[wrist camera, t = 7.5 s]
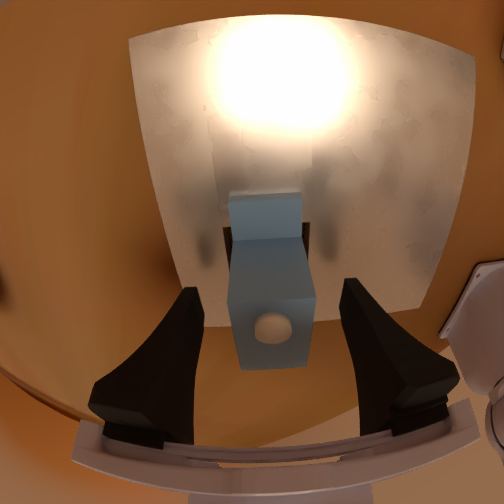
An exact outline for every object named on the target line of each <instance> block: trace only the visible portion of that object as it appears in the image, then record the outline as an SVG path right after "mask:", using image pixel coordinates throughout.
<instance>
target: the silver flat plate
mask: <svg viewBox="0 0 504 504" xmlns="http://www.w3.org/2000/svg"><path fill="white" fill-rule="evenodd" d="M128 40H129V50H130V59H131V67H132V75H133V82H134V89H135V96H136V102H137V108H138V114H139V120H140V125H141V130H142V136H143V141H144V146H145V151H146V155H147V160H148V165H149V169H150V173H151V178H152V182H153V186H154V190H155V194H156V198H157V202H158V206H159V210H160V214H161V218H162V222H163V225H164V229H165V232H166V236H167V240H168V243H169V246H170V250H171V253H172V257H173V260H174V263H175V266H176V270H177V273H178V276H179V279H180V282H181V285H182V288H183V289H184V287H197V289H198V293H199V296H200V299H201V303H202V306H203V310H204V313H205V318H204V327H223V326H231V321H230V316H229V311H228V306H227V295H228V285H229V274H230V264H231V251H230V244H229V237H228V230H227V227H231V224H230V216H229V209H228V198H229V197H230V196H243V195H258V194H274V193H295V192H300V193H301V195H302V222H305V231H304V248H305V252H306V256H307V260H308V264H309V268H310V272H311V276H312V280H313V284H314V289H315V293H316V297H317V298H316V306H315V314H314V321H325V320H335V319H341V317H340V311H339V303H340V298H341V293H342V288H343V283H344V278H355V277H356V278H357V279H358V280H359V281H360V282H361V284H362V285H363V286H364V287H365V288H366V290H367V291H368V292H369V293H370V294H371V296H372V297H373V298H374V299H375V300H376V301H377V303H378V304H379V305H380V306H381V307H382V308H383V309H384V310H385V311H386V312H387V313H391V312H397V311H404V310H410V309H416V308H420V306H421V303H422V301H423V299H424V297H425V295H426V292H427V290H428V288H429V286H430V283H431V281H432V279H433V276H434V274H435V271H436V269H437V266H438V263H439V261H440V258H441V256H442V253H443V250H444V247H445V244H446V241H447V238H448V235H449V232H450V229H451V226H452V223H453V219H454V216H455V213H456V209H457V205H458V202H459V198H460V194H461V189H462V185H463V181H464V176H465V171H466V166H467V161H468V155H469V149H470V143H471V135H472V127H473V117H474V105H475V80H476V69H475V57H474V56H472V55H469V54H467V53H465V52H463V51H460V50H458V49H455V48H453V47H451V46H448V45H445V44H443V43H440V42H437V41H434V40H432V39H429V38H426V37H422V36H419V35H416V34H413V33H409V32H406V31H402V30H398V29H394V28H390V27H386V26H381V25H376V24H371V23H366V22H360V21H354V20H348V19H340V18H331V17H321V16H306V15H256V16H241V17H230V18H221V19H214V20H207V21H200V22H195V23H189V24H184V25H179V26H175V27H170V28H166V29H162V30H158V31H154V32H151V33H147V34H144V35H140V36H137V37H134V38H131V39H128ZM314 321H313V322H314Z"/></svg>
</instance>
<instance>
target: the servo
mask: <svg viewBox="0 0 504 504" xmlns="http://www.w3.org/2000/svg"><path fill="white" fill-rule="evenodd" d="M228 209H229V216H230V224H231V231H232V238H233V245H232V254H231V264H230V274H229V285H228V295H227V306H228V311H229V316H230V321H231V326H232V330H233V335H234V339H235V344H236V348H237V353H238V357H239V362H240V366H241V370H264V369H281V368H295V367H306V366H307V360H308V354H309V348H310V341H311V335H312V328H313V321H314V314H315V306H316V298H317V297H316V293H315V289H314V284H313V280H312V276H311V272H310V268H309V264H308V260H307V256H306V252H305V248H304V244H303V240H302V195H301V193H300V192H295V193H274V194H258V195H243V196H230V197H229V198H228Z"/></svg>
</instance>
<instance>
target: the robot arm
mask: <svg viewBox="0 0 504 504" xmlns="http://www.w3.org/2000/svg"><path fill="white" fill-rule="evenodd" d="M339 311H340V317H341V323H342V327H343V330H344V334H345V337H346V340H347V344H348V347H349V350H350V354H351V357H352V361H353V365H354V370H355V377H356V383H357V392H358V401H359V414H360V437H355V438H349V439H344V440H338V441H332V442H325V443H317V444H309V445H299V446H287V447H269V448H268V447H267V448H229V447H209V446H196V445H194V426H193V416H194V388H195V375H196V368H197V363H198V358H199V353H200V348H201V343H202V337H203V332H204V318H205V313H204V310H203V306H202V303H201V299H200V296H199V293H198V289H197V287H184V289H183V290H182V292H181V293H180V295H179V296H178V298H177V299H176V301H175V302H174V304H173V305H172V307H171V308H170V310H169V311H168V313H167V314H166V315H165V317H164V318H163V320H162V321H161V322H160V324H159V325H158V326H157V327H156V329H155V330H154V331H153V333H152V334H151V335H150V336H149V337H148V338H147V340H146V341H145V342H144V343H143V344H142V345H141V346H140V347H139V348H138V349H137V350H136V351H135V352H134V353H133V354H132V355H131V356H130V357H129V358H128V359H127V360H125V361H124V362H123V363H122V364H121V365H119V366H118V367H117V368H116V369H114V370H113V371H112V372H110V373H109V374H107V375H106V376H104V377H103V378H101V379H100V380H98V381H97V382H95V384H94V386H93V389H92V392H91V396H90V399H89V403H88V407H89V409H90V410H91V411H92V412H93V413H95V414H96V415H97V416H99V417H100V418H101V419H103V420H104V421H105V425H104V426H103V425H100V424H97V423H94V422H91V421H87V420H84V419H81V420H80V423H79V427H78V431H77V435H76V439H75V443H74V447H73V452H72V457H71V460H72V461H74V462H76V463H79V464H81V465H83V466H85V467H88V468H90V469H93V470H96V471H98V472H101V473H104V474H107V475H110V476H113V477H116V478H120V479H123V480H127V481H130V482H134V483H138V484H142V485H146V486H150V487H155V488H160V489H164V490H169V491H175V492H181V493H188V494H189V496H188V504H373V495H372V486H371V483H375V482H378V481H382V480H385V479H389V478H392V477H395V476H398V475H401V474H404V473H407V472H410V471H413V470H415V469H418V468H421V467H423V466H426V465H428V464H431V463H433V462H435V461H438V460H440V459H442V458H444V457H447V456H448V455H451V454H453V453H455V452H457V451H459V450H461V449H463V448H465V447H466V446H468V445H470V444H472V443H474V442H475V441H477V440H479V439H480V438H481V436H480V432H479V429H478V425H477V422H476V418H475V415H474V412H473V409H472V406H471V403H470V400H469V398H467V399H465V400H462V401H460V402H457V403H455V404H453V405H451V406H449V407H447V405H446V403H447V402H448V397H447V394H448V393H449V392H450V391H451V390H452V389H453V388H454V387H455V386H456V385H457V384H458V382H459V380H460V376H459V374H458V371H457V368H456V366H455V364H454V362H452V361H450V360H448V359H447V358H444V357H443V356H441V355H439V354H437V353H436V352H434V351H432V350H431V349H429V348H428V347H426V346H425V345H423V344H422V343H421V342H419V341H418V340H417V339H415V338H414V337H413V336H411V335H410V334H409V333H408V332H406V331H405V330H404V329H403V328H402V327H401V326H400V325H399V324H397V323H396V322H395V321H394V320H393V319H392V318H391V317H390V316H389V315H388V314H387V312H386V311H385V310H384V309H383V308H382V307H381V306H380V305H379V304H378V303H377V301H376V300H375V299H374V298H373V297H372V296H371V294H370V293H369V292H368V291H367V290H366V288H365V287H364V286H363V285H362V284H361V282H360V281H359V280H358V279H357V278H356V277H355V278H344V283H343V288H342V293H341V298H340V303H339ZM439 337H440V338H441V339H443V338H447V340H448V342H449V344H450V346H451V348H452V351H453V353H454V355H455V358H456V360H457V362H458V365H459V367H460V370H461V372H462V375H463V377H464V380H465V382H466V383H467V385H468V386H469V388H470V389H471V390H472V391H474V392H475V393H476V394H478V395H488V396H489V398H490V401H489V403H488V406H487V409H486V415H485V430H486V435H487V438H488V440H489V443H490V444H491V446H492V447H493V448H494V449H495V450H496V451H497V452H498V454H499V455H500V457H501V459H502V462H503V465H504V260H503V261H496V262H489V263H482V264H478V265H477V266H476V267H475V269H474V271H473V274H472V276H471V278H470V280H469V282H468V284H467V286H466V288H465V290H464V292H463V294H462V296H461V298H460V300H459V301H458V303H457V305H456V307H455V309H454V310H453V312H452V314H451V316H450V317H449V319H448V321H447V322H446V324H445V326H444V327H443V329H442V331H441V332H440V334H439ZM345 454H347V455H345ZM339 455H344V456H341V457H340V460H338V461H336V462H328V463H318V464H308V465H296V466H281V467H258V468H221V467H219V465H218V464H217V463H211V462H225V463H276V462H291V461H303V460H312V459H320V458H327V457H333V456H339ZM205 461H208V462H205Z"/></svg>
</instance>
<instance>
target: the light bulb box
mask: <svg viewBox="0 0 504 504" xmlns="http://www.w3.org/2000/svg"><path fill="white" fill-rule="evenodd" d="M501 59H502V60H503V61H504V41H503V47H502V52H501Z"/></svg>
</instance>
